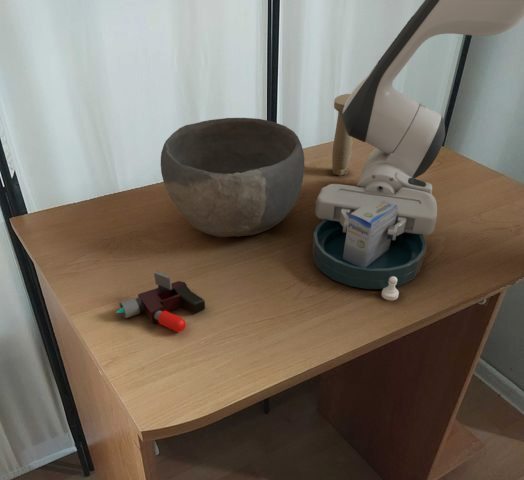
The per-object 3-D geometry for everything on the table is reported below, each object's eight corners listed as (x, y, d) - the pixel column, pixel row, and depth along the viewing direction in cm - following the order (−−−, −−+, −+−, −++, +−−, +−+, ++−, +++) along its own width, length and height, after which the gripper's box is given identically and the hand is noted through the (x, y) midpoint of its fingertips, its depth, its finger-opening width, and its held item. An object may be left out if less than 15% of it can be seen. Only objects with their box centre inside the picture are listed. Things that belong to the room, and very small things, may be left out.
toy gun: (113, 312, 79) (106, 286, 76) (186, 288, 84) (183, 262, 81) (137, 351, 73) (131, 325, 70) (215, 323, 78) (213, 296, 75)
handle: (355, 170, 115) (366, 96, 105) (343, 181, 111) (352, 106, 101) (335, 164, 117) (343, 92, 107) (322, 176, 113) (329, 101, 103)
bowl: (173, 265, 88) (162, 179, 78) (163, 196, 106) (154, 118, 95) (316, 251, 92) (324, 167, 82) (284, 186, 109) (288, 110, 99)
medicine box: (367, 241, 94) (375, 195, 88) (389, 250, 92) (399, 204, 86) (341, 260, 89) (348, 213, 83) (364, 270, 87) (372, 223, 81)
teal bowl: (423, 240, 95) (429, 219, 93) (416, 300, 83) (422, 279, 80) (323, 224, 99) (325, 204, 96) (301, 280, 86) (303, 259, 83)
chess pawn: (389, 302, 82) (393, 284, 80) (377, 294, 84) (381, 275, 81) (401, 297, 83) (405, 278, 81) (390, 288, 85) (394, 270, 82)
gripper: (324, 169, 96) (308, 205, 86) (441, 185, 92) (437, 225, 82) (321, 201, 100) (305, 239, 91) (433, 218, 96) (428, 259, 87)
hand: (369, 232), depth 86 cm, fingers closed on medicine box, 6 cm apart
